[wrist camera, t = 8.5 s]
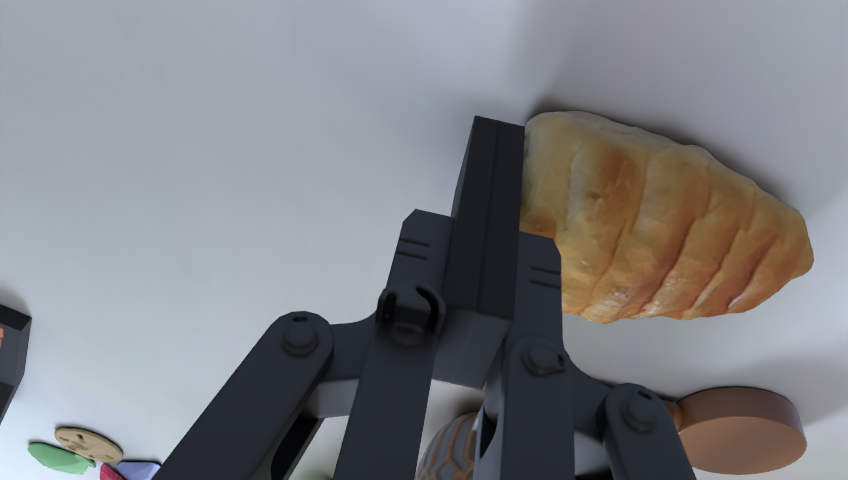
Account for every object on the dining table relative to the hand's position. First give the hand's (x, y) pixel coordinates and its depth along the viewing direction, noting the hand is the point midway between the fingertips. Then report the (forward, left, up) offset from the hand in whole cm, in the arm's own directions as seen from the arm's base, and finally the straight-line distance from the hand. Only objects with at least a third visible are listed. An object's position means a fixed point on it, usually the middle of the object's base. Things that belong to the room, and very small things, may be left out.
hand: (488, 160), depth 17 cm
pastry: (+1, +4, -2) cm, 5 cm away
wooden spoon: (+12, +7, -1) cm, 14 cm away
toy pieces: (+37, -21, -2) cm, 42 cm away
